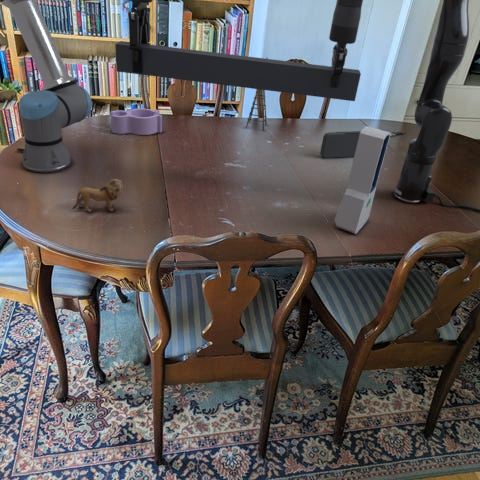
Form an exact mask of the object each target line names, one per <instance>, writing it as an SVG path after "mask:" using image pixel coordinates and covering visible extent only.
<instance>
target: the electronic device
mask: <svg viewBox="0 0 480 480" xmlns="http://www.w3.org/2000/svg"><path fill="white" fill-rule="evenodd" d="M391 133H392V132H391V131H386V130H382V129H378V128H375V127H371V126H367V125H366V126H364V127H363V128H362V129H361V132H360V135H359V139H358V143H357V148H356V152H355V156H354V157H353V160H352V164H351V168H350V173H349V177H348V180H347V186H346V190H345V192H344V194H343V196H342V199H341V200H340V201H341V202H340V204H339V207H338V209H337V212H336V214H335V217H334V223H335V226H336V228H338V229H341V230H344V231H346V232H349V233H351V234H355V235H357V233H358V232H359V231H360V230H361V228H363V226H364V225H365V224H366V223H367V221H368V220H369V217H370V214H371V210H372V206H373V202H374V198H375V194H376V191H377V190H376V189H377V184H378V181H379V177H380V174H381V170H382V167H383V163H384V159H385V156H386V152H387V148H388V145H389V142H390V138H391V136H390V135H391Z"/></svg>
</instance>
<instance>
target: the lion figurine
mask: <svg viewBox="0 0 480 480" xmlns="http://www.w3.org/2000/svg"><path fill="white" fill-rule="evenodd" d="M109 181H110V182H108V183H107V184H105V185H104V186H103V187H102V188H92V187H88V186H87V187H83V188H81V189H80V190H79V191H78V193H77V195H76V196H77V197H76V201H75V205H74V206H73V207H72V208H71V209H72V210H75V209H77V207H79V208H83V207H84V208H85V210H86V212H89V213H91V212H92V208H89V203H90V199H91V200H94V201H95V202H104V201H105V206H106V207H107V210H108V211H109V212H113V211H114V208H113V207H112V202H113V201H116V200H118V199H119V198H120V197H119V196H121V195H122V194H123V191H124V186H123V181H122V180H120V179H118V178H113V179H110V180H109ZM82 202H84V204H83V203H82Z"/></svg>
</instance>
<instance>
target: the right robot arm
mask: <svg viewBox="0 0 480 480" xmlns="http://www.w3.org/2000/svg"><path fill="white" fill-rule="evenodd" d="M469 1H470V0H443V1H442V6H441V10H440V13H439V17H438V23H437V27H436V31H435V34H434V38H433V42H432V47H431V51H430V56H429V60H428V61H429V62H428V65H427V68H426V74H425V78H424V83H423V86H422V89H421V92H420V94H419V98H418V101H417V104H416V107H415V111H414V116H413V119H414V122H415V124H416V125H417V126H418V127H419V128H420V130H419V133H418V135H417V138H413V139H411V140H410V141H409V143H408V147H407V150H406V155H405V157H404V161H403V164H402V167H401V171H400V174H399V177H398V180H397V184H396V187H395V189H394V192H393V195H394V198H395V199H397V200H399V201H401V202H404V203H408V204H419V203H424V201H425V202H426V201H427V202H433V201H434V199H435V198H437V199H438V201H439V204H440V205H441V206H443V207H448V208H464V209H469V210H472V211H476V212H479V213H480V208H477V207H474V206H469V205H466V204H446V203H444V202H443V199H442V197H441V196H440V195H438V194H436V192H435V191H434V190H433V189H432V188H431V187H430V183H431V181H432V179H433V178H432V175H431V173H432V170H433V167H434V164H435V161H436V159H437V155H438V152H439V151H440V149H441V148H442V147H443V146H444V143H445V140H446V139H447V135H448V133H449V131H450V128H451V125H452V122H453V114H452V113H453V112H452V111H451V109H450V108H448V107H447V106H445V105H444V104H443V102H444V97H445V91H446V88H447V85H448V83H449V81H450V80H451V78H452V77H453V75H455V73H456V71H457V70H458V68H459V67H460V66H461V63H462V61H463V59H464V56H465V52H466V49H467V46H468V41H469V37H470V36H469V35H470V20H469V19H470V17H469ZM363 2H364V0H336V2H335V7H334V10H333V13H332V20H331V26H330V31H329V37H328V39H329V40H330V41H331V42H334V43H336V44H335V45H333V48H332V56H331V66H330V67H333V71H332V79H331V85H330V86H331V87H332V88H337V87H338V84H339V79H340V75H341V74H342V72H343V71H342V70H343V68H344V66H345V64H346V58H347V55H348V52H349V51H348V48H347V45H348V44H349V45H351V44H355V43H356V41H357V36H358V31H359V27H360V23H361V18H362V7H363ZM336 67H338V68H340V69H336ZM434 197H435V198H434Z"/></svg>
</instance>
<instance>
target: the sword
mask: <svg viewBox="0 0 480 480" xmlns="http://www.w3.org/2000/svg"><path fill="white" fill-rule="evenodd" d="M401 132H402V131H396V132H394V131H392V132H390V133H391V135H390V137H393V136H397V135H401V134H402V133H401ZM406 133H407V131H406V132H405V133H404V134H406Z"/></svg>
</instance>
